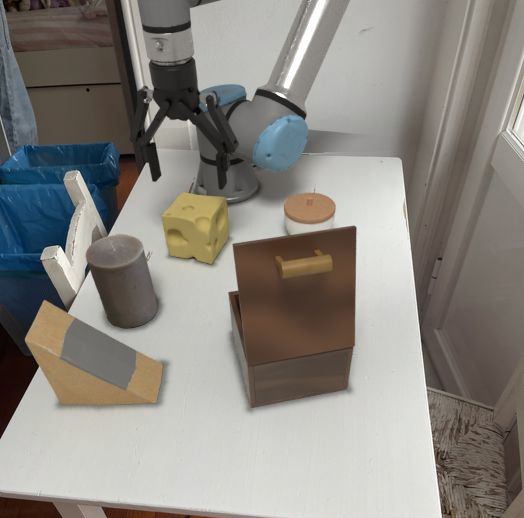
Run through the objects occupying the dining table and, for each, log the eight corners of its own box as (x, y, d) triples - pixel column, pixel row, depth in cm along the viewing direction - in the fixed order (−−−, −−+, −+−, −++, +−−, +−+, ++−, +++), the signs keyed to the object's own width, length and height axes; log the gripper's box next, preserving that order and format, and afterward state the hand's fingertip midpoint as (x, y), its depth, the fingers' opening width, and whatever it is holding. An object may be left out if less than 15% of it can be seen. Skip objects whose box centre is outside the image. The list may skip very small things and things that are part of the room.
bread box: (232, 334, 86) (228, 291, 79) (317, 319, 88) (320, 276, 81) (250, 408, 75) (247, 366, 68) (347, 389, 77) (353, 347, 70)
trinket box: (330, 254, 101) (333, 214, 94) (279, 249, 103) (279, 209, 96) (335, 225, 108) (338, 186, 101) (288, 221, 110) (288, 183, 103)
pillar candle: (105, 331, 87) (79, 264, 76) (108, 296, 94) (85, 230, 83) (159, 324, 88) (141, 257, 77) (158, 290, 95) (142, 224, 84)
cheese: (213, 265, 100) (207, 223, 92) (166, 256, 102) (157, 214, 95) (231, 237, 106) (227, 196, 99) (186, 230, 109) (180, 189, 102)
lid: (232, 243, 59) (239, 259, 54) (354, 225, 61) (372, 239, 56) (247, 363, 68) (254, 386, 63) (353, 343, 70) (368, 364, 65)
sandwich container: (157, 404, 76) (135, 338, 65) (60, 406, 76) (23, 340, 65) (164, 363, 82) (146, 296, 71) (74, 364, 82) (42, 298, 71)
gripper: (90, 61, 78) (122, 184, 93) (238, 71, 73) (245, 199, 88) (112, 47, 82) (138, 166, 98) (252, 55, 77) (257, 179, 93)
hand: (189, 182), depth 93 cm, fingers open, 13 cm apart
